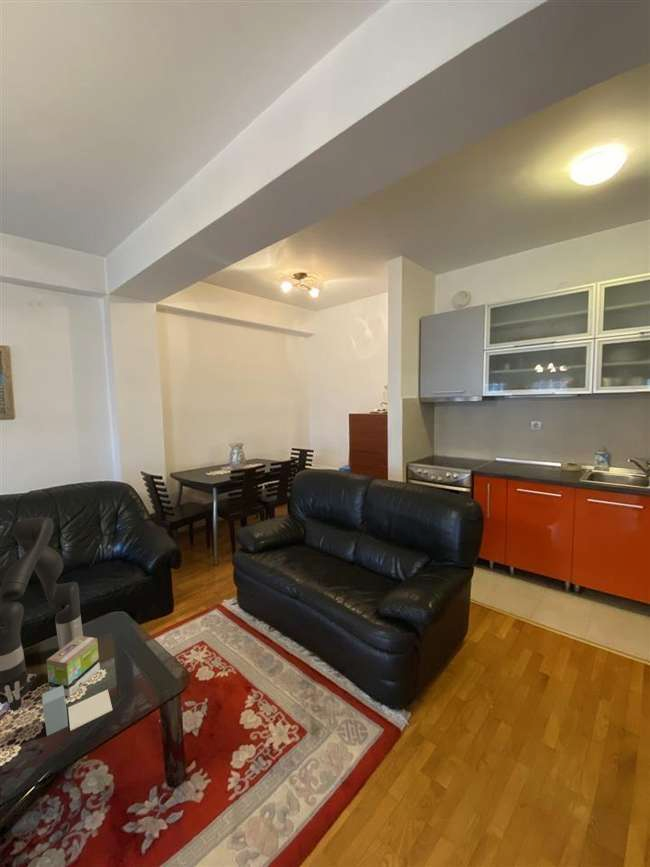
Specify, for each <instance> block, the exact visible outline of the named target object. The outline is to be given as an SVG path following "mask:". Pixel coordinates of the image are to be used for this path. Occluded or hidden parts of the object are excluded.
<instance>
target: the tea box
mask: <svg viewBox="0 0 650 867" xmlns="http://www.w3.org/2000/svg"><path fill="white" fill-rule="evenodd" d="M98 645H99V644H98V638H97V637H90V636H84V635H83V636H77V637H76V638H75V639H73V640H72V641H71V642H70V643H68V644H67V645H66V646H64V647H63V648H62V649H60V650H59V649H58V650H57V652H54V654H53V655H51V656H50V657H48V658H47V659H46V660H45V661H46V670H47V680H48V682H47V683H48V691H50V690H53V689H55V688H57V687H60V686H62V685H63V687H64V695H65V697H68V698H70V697H71V696H73V694H74V693H75V692H76V691H78V689H80V688H81V687H83V685H84V684H85V683H86V682H87V681H89V680H90V679H91V678H92V676H94V675H95V674H97V672H98V671H100V669H101V666H100V657H99V656H100V655H99V647H98Z"/></svg>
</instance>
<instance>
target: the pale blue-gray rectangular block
mask: <svg viewBox="0 0 650 867" xmlns="http://www.w3.org/2000/svg"><path fill="white" fill-rule="evenodd" d="M42 711H43V717H44V724H45V725H44V726H45V731H46V737H49V736H50V735H52V734H55V733H56V732H59V731H61V730H63V729H64V728H68V727H69V724H68V723H69V722H68V721H69V719H68V712H67V711H68V710H67V705H66V696H65V695H64V687H63V685H62V686H60V687H57V688H55V689H53V690H50V691H49V690H47V691H46V692H43V693H42Z"/></svg>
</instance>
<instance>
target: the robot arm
mask: <svg viewBox="0 0 650 867" xmlns="http://www.w3.org/2000/svg"><path fill="white" fill-rule="evenodd" d="M54 526H55V525H54V520H53V519H52V518H50V517H45V516H43V517H42V516H41V517H27V518H24V519H23V518H22V519H20V520H17V522H16V523H15V524H14V528H13V534H14V537H15V540H16V542H17V543H18V545H19V546H20V548H22V550H23V552H24V554H23V555H22V556H21V557H19V559H17V560H16V561H15V562H14V563H13V564H12V565H11V566H10V567H9V568H8V570H7V571H6V573H5V575H4V578H3V580H2V582H1V585H0V628H3V627H6V628H5V629H2V630H0V704H2V705H4V704H5V703H8V704H9V710H10V711H12V712H16V711H18V710H19V709H20V707H22V697H23V696H25V695H26V694H27V693H28V692H29V690H30V689H31V687H32V686H33V684H34V682H35V681H36V680H37V672H33V673H29V671H28V670H27V668H26V661H25V660H26V659H25V654H24V649H23V648H24V647H23V645H22V640H21V628H22V623H23V622H22V620H23V616H24V612H25V608H24V605H23V604H22V603H21V602H18V601H13V600H15V599H18V598H21V597H22V596H23V595H24V594H25V592H26V590H27V587H28V584H29V581H30V578H31V576H32V573H33V571H35V574H36V575H37V577H38V579H39V580H40V583H41V585H42V587H43V590H44V594H45V597H46V600H47V603H48V604H49V606H50V607H51V608H54V607H55V608H56V607H62V606H63V607H64V606H67V607H65V608H62V609H61V610H60V611H58V612H57V613H56V614H55V617H54V619H55V620H54V621H55V628H56V635H57V643H58V651H59V650H60V649H62V648H63V647H64V646H66V645H67V644H68V643H70V642H71V641H72V640H73V639H75V638H76V637H77V636H84V633H83V624H82V616H81V604H80V588H79V584H78V582H76V581H71V582H66V583H59V584H58V583H56V582H57V580H58V579H59V577H60V575H61V574H62V572H63V570H64V562H63V560H62V557H61V554H60V553H59V552H58V551H56V550H55V549H53V548H52V547H50V546H48V544H49V542H50V540H51V539H52V536H53V533H54V529H55V527H54ZM25 682H26V683H25ZM24 683H25V684H24ZM23 685H24V686H23ZM22 686H23V688H22V689H21V687H22Z"/></svg>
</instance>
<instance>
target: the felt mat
mask: <svg viewBox="0 0 650 867" xmlns="http://www.w3.org/2000/svg"><path fill="white" fill-rule="evenodd" d="M110 697H111V696H110V694H109V690H108V689H106V690H104V691H101V692H99V693H96V694H94V695H93V696H90V697H88V698H85V699H84V700H81V701H79V702H77V703H75V704H73V705H71V706H69V707H67V711H68V712H67V714H68V721H69V722H68V723H69V731H70V732H71V731H73V730H76V729H77V728H79V727H82V726H83V725H85V724H88V723H90V722H92V721H93V720H96V719H99V718H100V717H103V715H106V714H108V713H111V712H112V711H113V706H112V703H111V701H112V700H111V698H110Z"/></svg>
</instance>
